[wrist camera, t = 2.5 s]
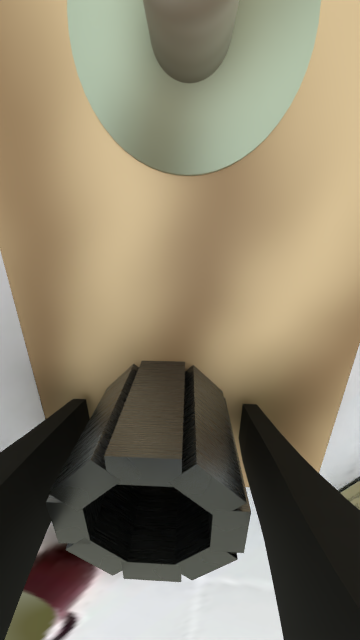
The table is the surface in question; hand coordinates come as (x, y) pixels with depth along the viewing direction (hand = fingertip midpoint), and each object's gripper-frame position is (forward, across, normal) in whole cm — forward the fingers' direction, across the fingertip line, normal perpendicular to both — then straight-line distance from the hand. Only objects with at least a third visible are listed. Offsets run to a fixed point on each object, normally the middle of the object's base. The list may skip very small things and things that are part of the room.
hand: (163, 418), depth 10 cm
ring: (0, 0, 0) cm, 0 cm away
